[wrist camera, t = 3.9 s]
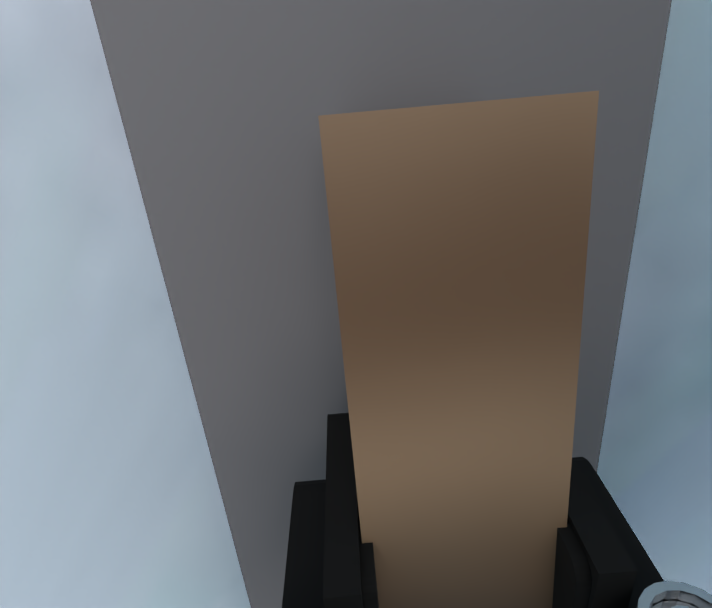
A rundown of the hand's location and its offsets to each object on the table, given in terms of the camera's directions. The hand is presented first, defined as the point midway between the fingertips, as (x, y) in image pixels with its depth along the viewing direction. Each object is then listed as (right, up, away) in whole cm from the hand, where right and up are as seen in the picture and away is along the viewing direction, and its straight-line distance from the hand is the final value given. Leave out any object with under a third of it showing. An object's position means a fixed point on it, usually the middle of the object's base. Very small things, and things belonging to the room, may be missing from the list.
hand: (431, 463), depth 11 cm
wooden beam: (0, -2, +1) cm, 2 cm away
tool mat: (0, -1, +3) cm, 4 cm away
